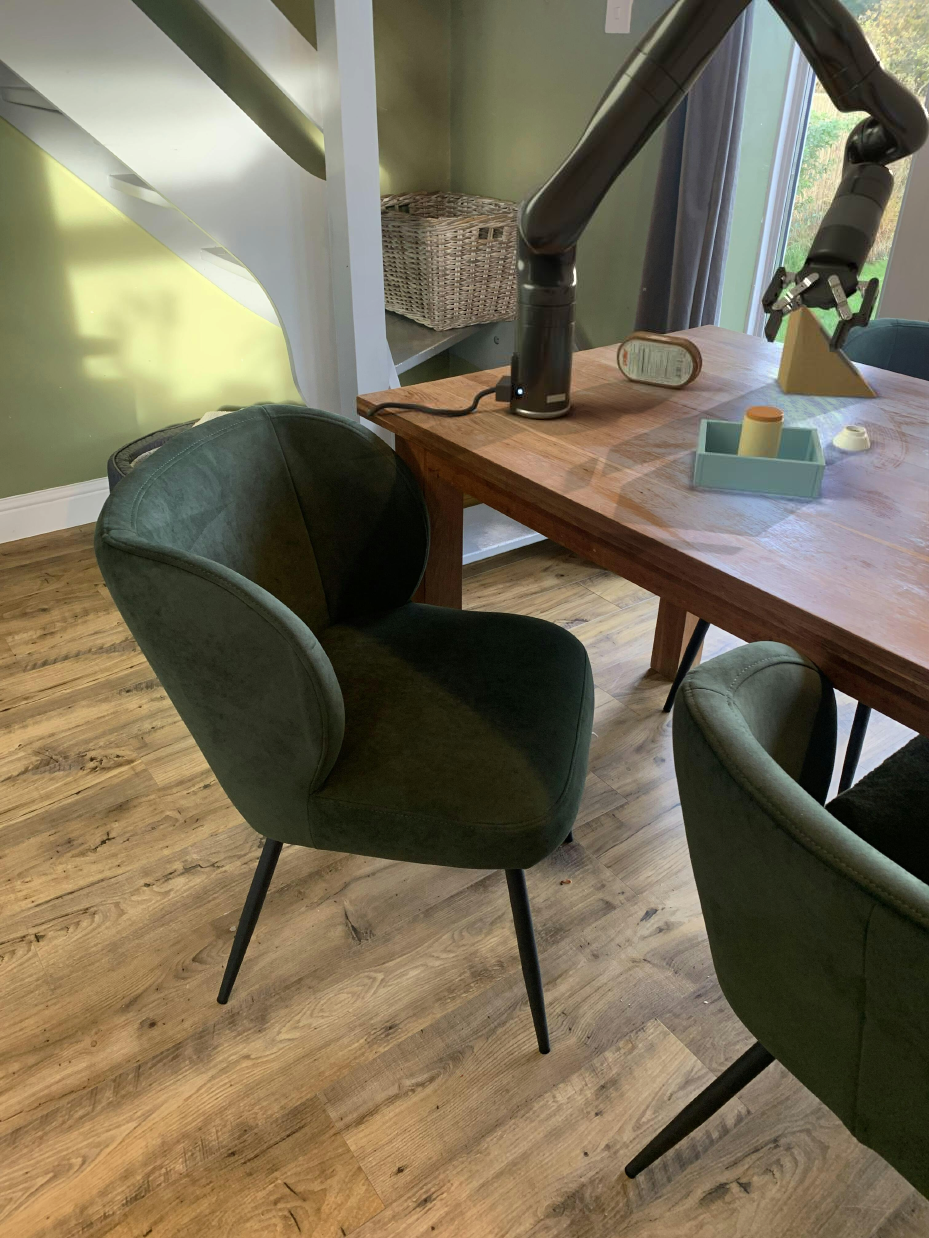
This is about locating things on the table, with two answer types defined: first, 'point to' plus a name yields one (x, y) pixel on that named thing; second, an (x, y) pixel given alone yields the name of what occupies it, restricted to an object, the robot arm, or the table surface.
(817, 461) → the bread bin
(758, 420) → the lidded cream canister
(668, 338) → the tin
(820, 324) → the sandwich container
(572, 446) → the table surface
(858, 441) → the cream truncated cone
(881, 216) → the robot arm
